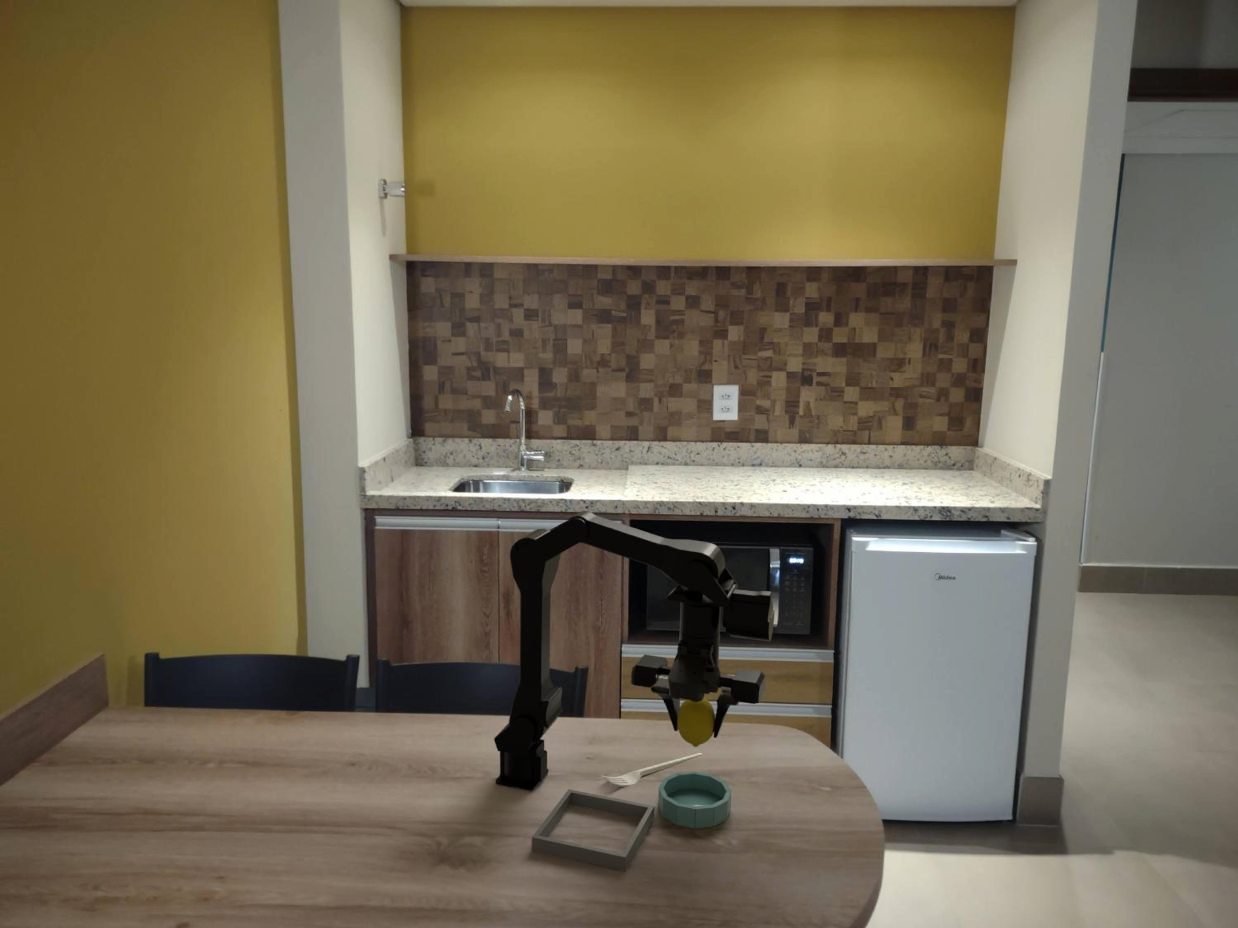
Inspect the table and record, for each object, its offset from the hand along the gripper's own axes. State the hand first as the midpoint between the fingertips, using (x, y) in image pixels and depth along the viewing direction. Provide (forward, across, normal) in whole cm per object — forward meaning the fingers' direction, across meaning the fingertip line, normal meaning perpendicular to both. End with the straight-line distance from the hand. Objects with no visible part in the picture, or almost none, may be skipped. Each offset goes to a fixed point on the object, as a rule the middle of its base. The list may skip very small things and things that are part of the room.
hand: (696, 733), depth 135 cm
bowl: (+12, 0, 0) cm, 12 cm away
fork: (+13, -8, +9) cm, 18 cm away
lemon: (+2, 0, 0) cm, 2 cm away
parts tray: (+12, -11, -11) cm, 20 cm away
